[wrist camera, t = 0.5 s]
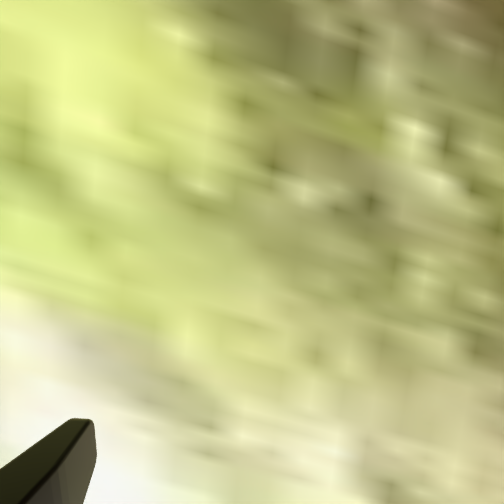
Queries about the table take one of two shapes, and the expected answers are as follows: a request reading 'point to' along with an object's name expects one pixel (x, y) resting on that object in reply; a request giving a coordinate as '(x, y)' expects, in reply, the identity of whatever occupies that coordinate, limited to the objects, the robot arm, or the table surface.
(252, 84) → the table surface
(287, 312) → the table surface
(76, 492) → the robot arm
